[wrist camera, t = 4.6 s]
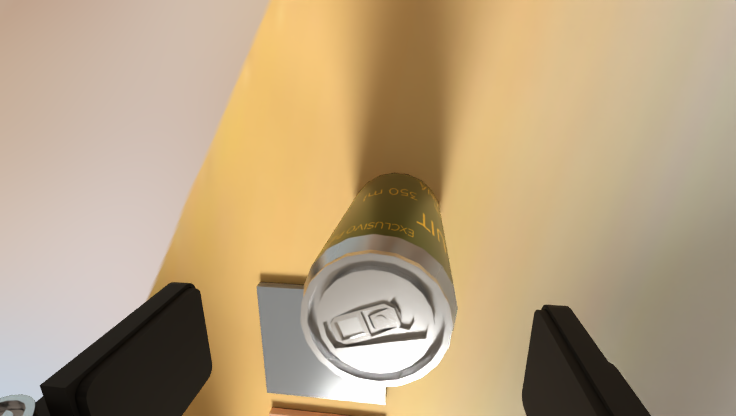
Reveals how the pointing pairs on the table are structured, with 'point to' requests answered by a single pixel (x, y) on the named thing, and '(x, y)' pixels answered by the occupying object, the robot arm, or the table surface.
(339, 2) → the table surface
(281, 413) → the terracotta coaster
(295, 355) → the slate coaster
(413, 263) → the beer can
